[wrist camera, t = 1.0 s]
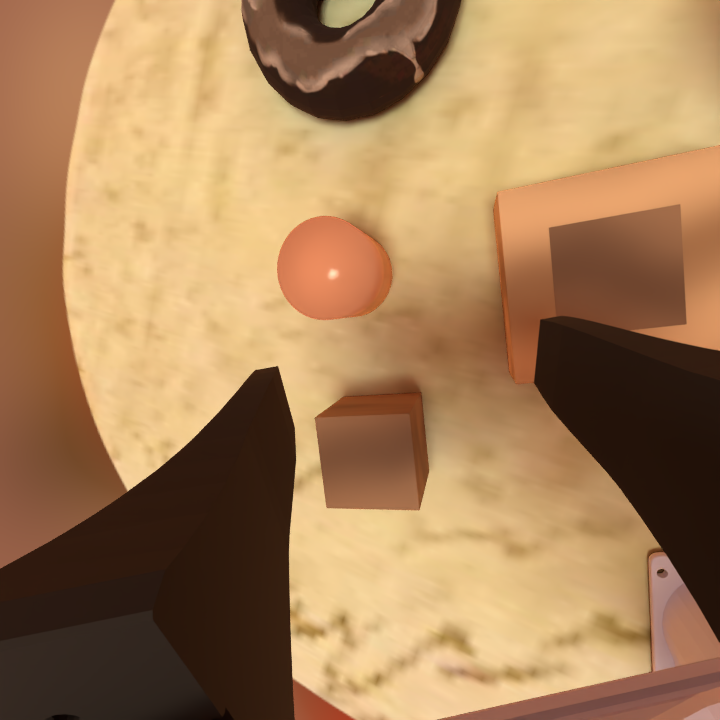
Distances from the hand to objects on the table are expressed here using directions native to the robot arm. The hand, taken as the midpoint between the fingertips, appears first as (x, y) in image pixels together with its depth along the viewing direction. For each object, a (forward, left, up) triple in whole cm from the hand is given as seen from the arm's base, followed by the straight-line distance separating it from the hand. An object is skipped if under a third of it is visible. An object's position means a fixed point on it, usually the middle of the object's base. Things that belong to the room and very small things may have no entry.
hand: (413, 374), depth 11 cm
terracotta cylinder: (+4, +5, -13) cm, 15 cm away
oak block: (+2, -8, -13) cm, 16 cm away
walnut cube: (-6, +4, -13) cm, 15 cm away
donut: (+18, +3, -13) cm, 23 cm away
